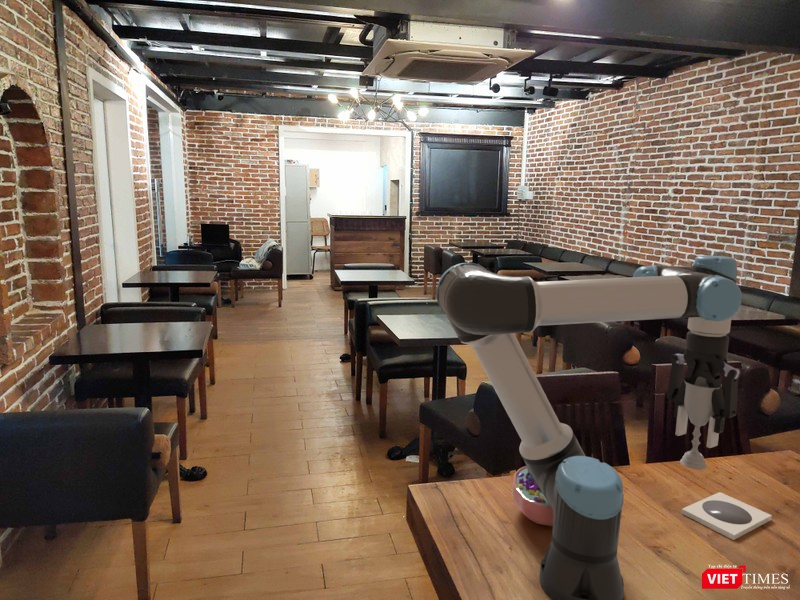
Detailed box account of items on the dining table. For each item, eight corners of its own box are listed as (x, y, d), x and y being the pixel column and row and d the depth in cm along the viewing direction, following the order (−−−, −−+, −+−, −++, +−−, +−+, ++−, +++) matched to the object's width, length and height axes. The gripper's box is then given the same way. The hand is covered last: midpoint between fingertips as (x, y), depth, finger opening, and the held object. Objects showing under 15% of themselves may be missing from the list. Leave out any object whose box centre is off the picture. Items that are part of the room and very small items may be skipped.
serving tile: (733, 540, 120) (734, 534, 120) (681, 513, 130) (681, 508, 130) (771, 520, 128) (771, 514, 128) (719, 496, 138) (719, 491, 138)
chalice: (719, 472, 113) (729, 388, 109) (685, 471, 113) (694, 387, 110) (700, 456, 120) (709, 377, 117) (669, 455, 120) (677, 376, 117)
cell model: (498, 528, 122) (501, 480, 120) (522, 488, 140) (525, 446, 138) (577, 551, 115) (581, 501, 113) (592, 506, 132) (596, 462, 130)
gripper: (768, 340, 105) (753, 453, 109) (675, 321, 121) (665, 421, 125) (747, 345, 101) (732, 462, 105) (654, 325, 118) (644, 427, 122)
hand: (696, 439), depth 115 cm, fingers closed on chalice, 6 cm apart
